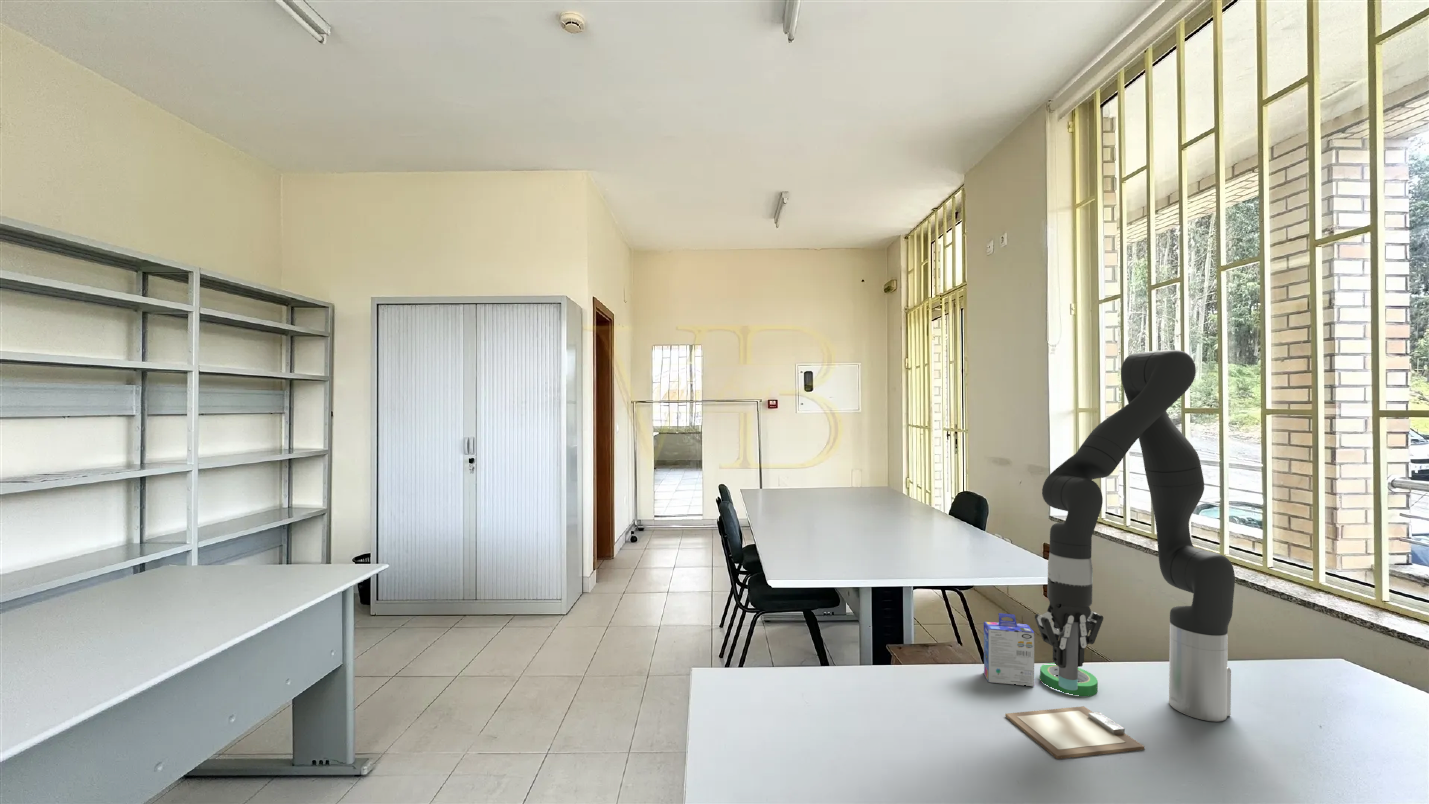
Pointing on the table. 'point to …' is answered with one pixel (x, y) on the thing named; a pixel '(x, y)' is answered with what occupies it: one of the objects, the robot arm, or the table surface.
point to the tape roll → (1087, 683)
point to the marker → (1070, 661)
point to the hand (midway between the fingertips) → (1068, 665)
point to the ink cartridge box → (1008, 652)
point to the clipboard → (1074, 732)
